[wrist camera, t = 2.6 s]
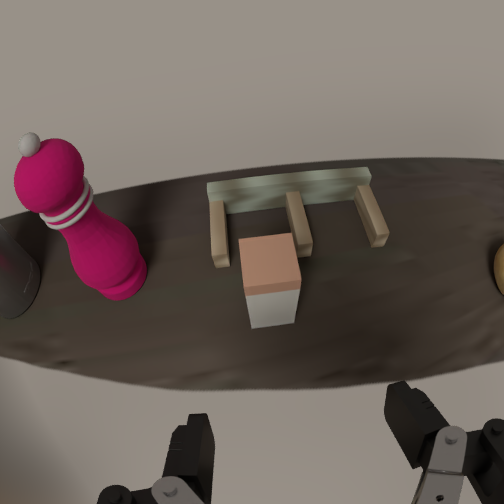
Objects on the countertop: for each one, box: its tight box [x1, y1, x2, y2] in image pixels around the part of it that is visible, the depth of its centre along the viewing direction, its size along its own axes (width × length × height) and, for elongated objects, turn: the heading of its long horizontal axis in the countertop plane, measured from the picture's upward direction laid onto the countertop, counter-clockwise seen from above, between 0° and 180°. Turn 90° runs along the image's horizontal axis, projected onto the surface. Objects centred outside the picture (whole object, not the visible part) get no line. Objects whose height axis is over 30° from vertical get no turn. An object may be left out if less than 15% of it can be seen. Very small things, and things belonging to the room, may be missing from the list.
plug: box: [239, 233, 302, 328], centre depth 26 cm, size 4×4×9 cm
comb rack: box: [207, 167, 390, 268], centre depth 34 cm, size 18×8×4 cm, turn 96°
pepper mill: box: [14, 133, 147, 300], centre depth 25 cm, size 7×7×20 cm
